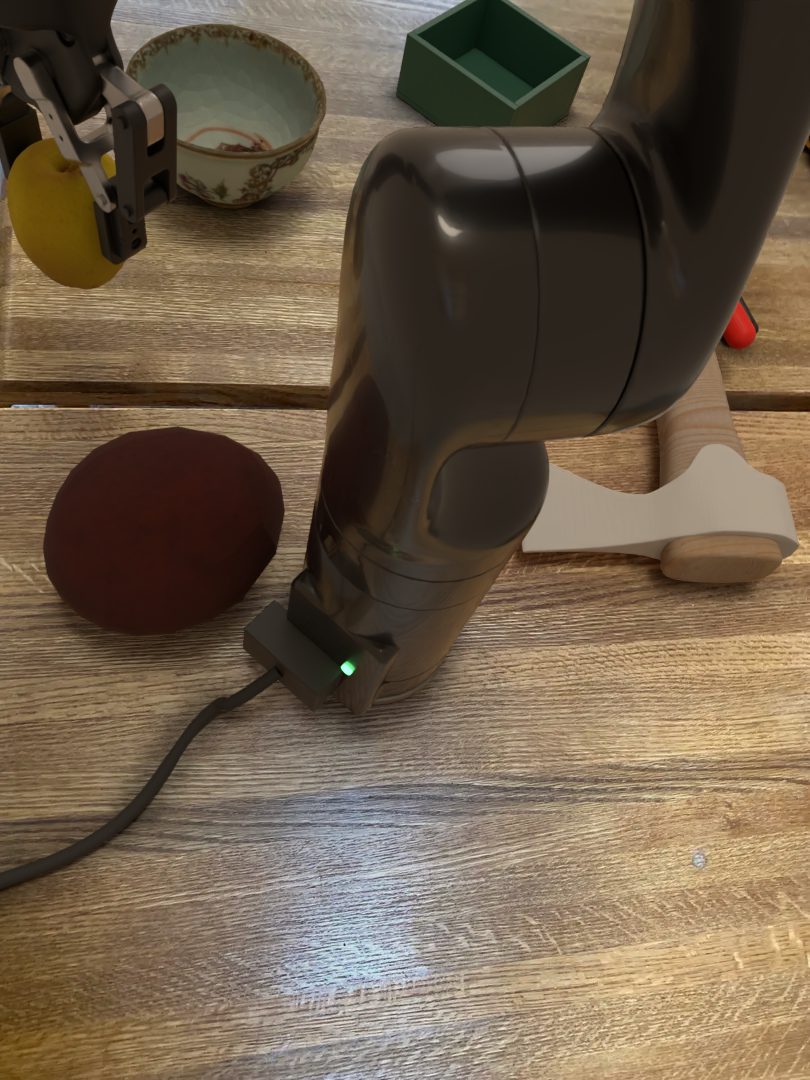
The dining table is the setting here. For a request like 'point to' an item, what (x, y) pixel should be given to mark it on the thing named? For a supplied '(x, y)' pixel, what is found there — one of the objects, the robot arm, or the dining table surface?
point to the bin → (489, 68)
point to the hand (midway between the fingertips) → (76, 215)
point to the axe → (680, 502)
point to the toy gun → (741, 327)
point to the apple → (58, 216)
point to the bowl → (235, 109)
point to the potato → (162, 530)
